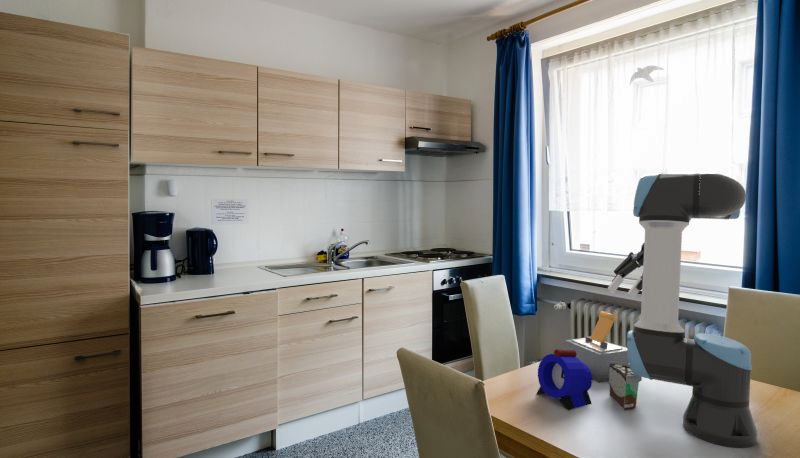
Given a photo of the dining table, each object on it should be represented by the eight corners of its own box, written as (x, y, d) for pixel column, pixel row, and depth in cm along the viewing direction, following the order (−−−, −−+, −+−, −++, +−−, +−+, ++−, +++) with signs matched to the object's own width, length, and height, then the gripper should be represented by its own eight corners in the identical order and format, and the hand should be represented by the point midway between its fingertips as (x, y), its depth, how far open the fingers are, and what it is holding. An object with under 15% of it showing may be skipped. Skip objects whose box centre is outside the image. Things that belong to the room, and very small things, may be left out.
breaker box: (592, 361, 167) (593, 331, 166) (628, 377, 152) (629, 344, 151) (564, 365, 163) (565, 335, 162) (598, 382, 148) (599, 348, 147)
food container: (649, 412, 127) (650, 376, 127) (626, 412, 127) (627, 376, 127) (628, 394, 140) (629, 360, 139) (607, 393, 140) (608, 360, 139)
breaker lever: (592, 340, 160) (605, 312, 161) (605, 345, 155) (618, 316, 156) (588, 337, 159) (601, 310, 160) (600, 342, 154) (613, 313, 155)
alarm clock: (534, 394, 139) (535, 344, 138) (564, 387, 145) (565, 339, 144) (566, 411, 128) (567, 357, 127) (597, 402, 134) (599, 350, 133)
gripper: (690, 254, 155) (651, 307, 150) (638, 248, 174) (602, 294, 170) (679, 239, 153) (639, 292, 148) (627, 234, 172) (591, 281, 168)
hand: (620, 293), depth 159 cm, fingers open, 8 cm apart
